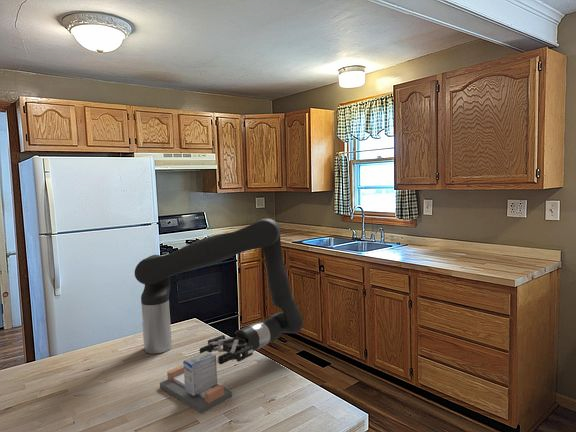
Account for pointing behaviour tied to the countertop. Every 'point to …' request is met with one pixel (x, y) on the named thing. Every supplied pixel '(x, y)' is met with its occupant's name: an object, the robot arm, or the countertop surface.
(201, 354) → the medicine box
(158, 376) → the countertop surface
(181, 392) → the rail panel
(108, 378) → the countertop surface
